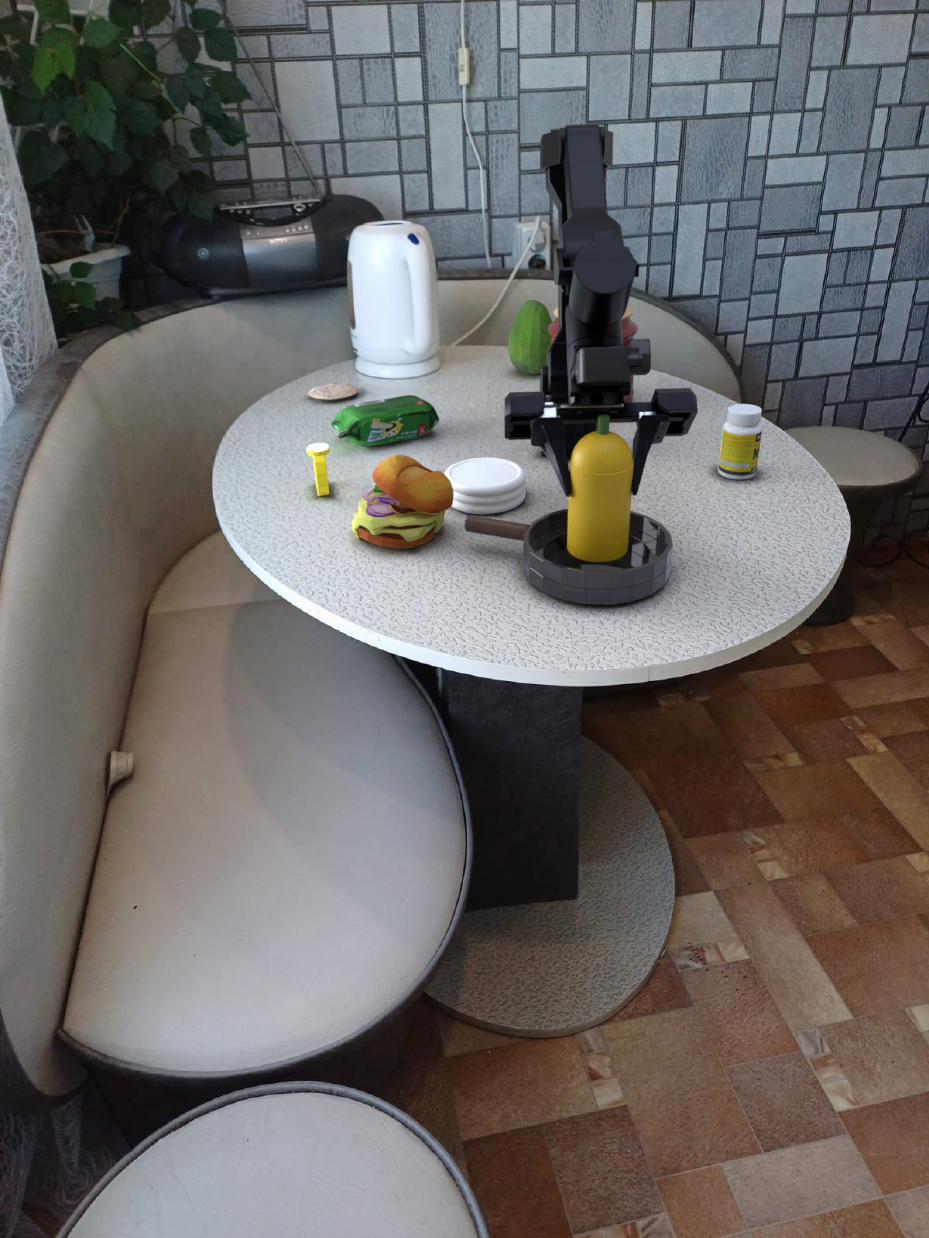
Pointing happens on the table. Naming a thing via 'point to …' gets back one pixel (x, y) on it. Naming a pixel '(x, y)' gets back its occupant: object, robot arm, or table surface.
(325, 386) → the flatbread
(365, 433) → the snack package
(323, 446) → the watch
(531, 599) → the table surface
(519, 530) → the handle
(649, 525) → the dark grey frying pan
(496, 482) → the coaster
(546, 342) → the avocado
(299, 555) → the table surface
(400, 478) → the cheeseburger
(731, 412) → the supplement bottle
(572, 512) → the pepper
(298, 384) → the table surface
